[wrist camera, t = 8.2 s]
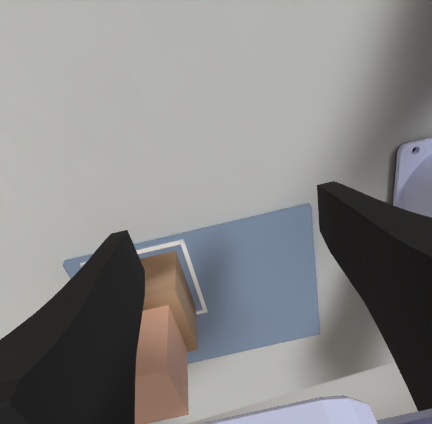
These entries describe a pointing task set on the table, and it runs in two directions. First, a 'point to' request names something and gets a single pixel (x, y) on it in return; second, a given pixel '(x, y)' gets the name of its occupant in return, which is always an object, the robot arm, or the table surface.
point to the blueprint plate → (245, 280)
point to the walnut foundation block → (171, 293)
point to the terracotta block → (160, 368)
